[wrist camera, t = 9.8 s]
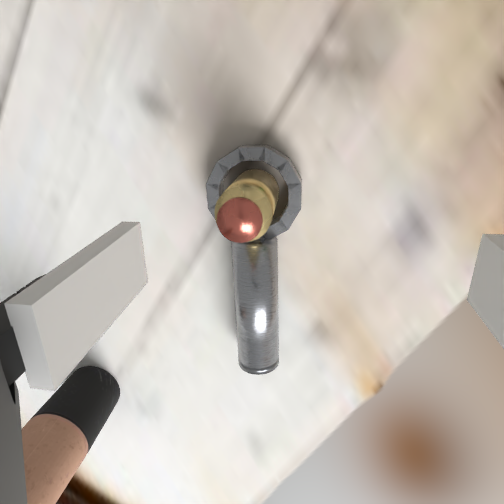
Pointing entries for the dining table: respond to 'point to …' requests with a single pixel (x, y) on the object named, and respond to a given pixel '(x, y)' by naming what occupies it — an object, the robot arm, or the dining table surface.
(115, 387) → the travel mug
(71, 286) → the robot arm
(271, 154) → the grey ring-headed tool
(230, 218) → the yellow jar pink lid
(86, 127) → the dining table surface
